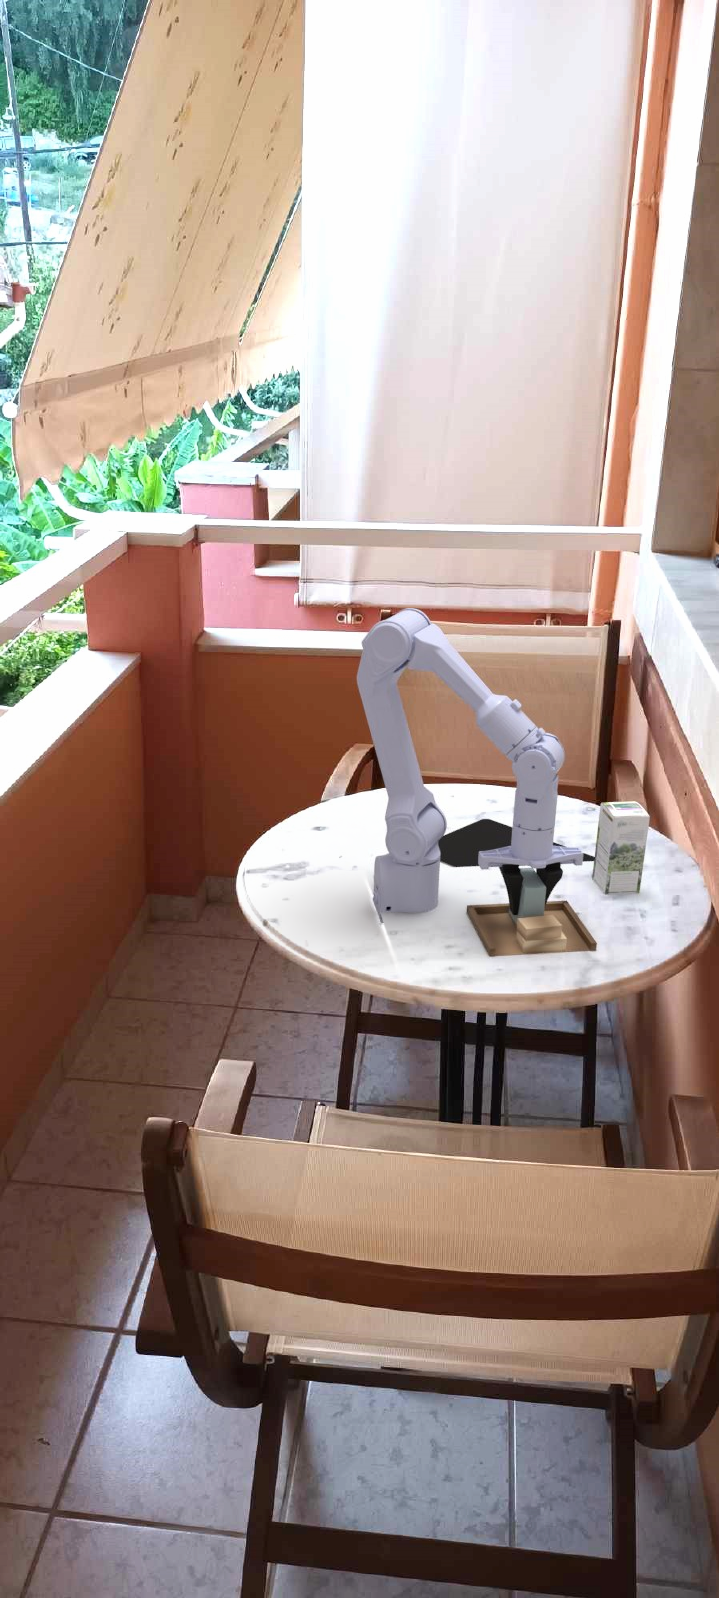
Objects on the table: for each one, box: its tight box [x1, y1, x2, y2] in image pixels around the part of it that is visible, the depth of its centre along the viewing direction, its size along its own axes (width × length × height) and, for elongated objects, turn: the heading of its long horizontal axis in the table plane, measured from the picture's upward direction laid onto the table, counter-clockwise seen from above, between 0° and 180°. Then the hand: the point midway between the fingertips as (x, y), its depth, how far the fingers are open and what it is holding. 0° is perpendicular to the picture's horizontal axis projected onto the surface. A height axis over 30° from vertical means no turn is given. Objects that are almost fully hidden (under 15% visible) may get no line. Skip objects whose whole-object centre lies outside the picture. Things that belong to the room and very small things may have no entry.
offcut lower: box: [516, 931, 567, 953], centre depth 157 cm, size 6×3×2 cm, turn 99°
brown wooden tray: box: [466, 900, 598, 957], centre depth 161 cm, size 15×13×3 cm
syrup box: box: [591, 800, 651, 895], centre depth 173 cm, size 6×6×14 cm
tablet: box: [438, 818, 595, 868], centre depth 188 cm, size 27×1×20 cm
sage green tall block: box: [509, 867, 546, 926], centre depth 162 cm, size 3×6×7 cm, turn 9°
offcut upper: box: [517, 915, 562, 941], centre depth 156 cm, size 5×3×2 cm, turn 105°
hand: (526, 911), depth 162 cm, fingers closed on sage green tall block, 3 cm apart
